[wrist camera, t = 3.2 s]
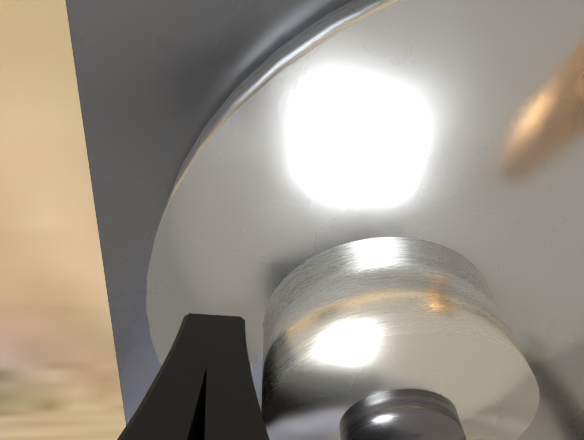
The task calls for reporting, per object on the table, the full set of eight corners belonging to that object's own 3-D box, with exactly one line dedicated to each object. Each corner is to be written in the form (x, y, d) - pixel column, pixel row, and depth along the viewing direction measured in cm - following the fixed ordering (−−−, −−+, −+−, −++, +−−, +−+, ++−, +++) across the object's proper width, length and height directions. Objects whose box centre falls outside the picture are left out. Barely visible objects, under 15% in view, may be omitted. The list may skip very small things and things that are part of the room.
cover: (448, 394, 14) (488, 515, 11) (255, 385, 13) (250, 511, 10) (528, 246, 10) (613, 371, 8) (275, 227, 10) (275, 353, 7)
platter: (582, 468, 20) (661, 622, 16) (167, 453, 18) (135, 621, 14) (1048, 10, 9) (1673, 123, 5) (137, -136, 7) (-33, -144, 3)
